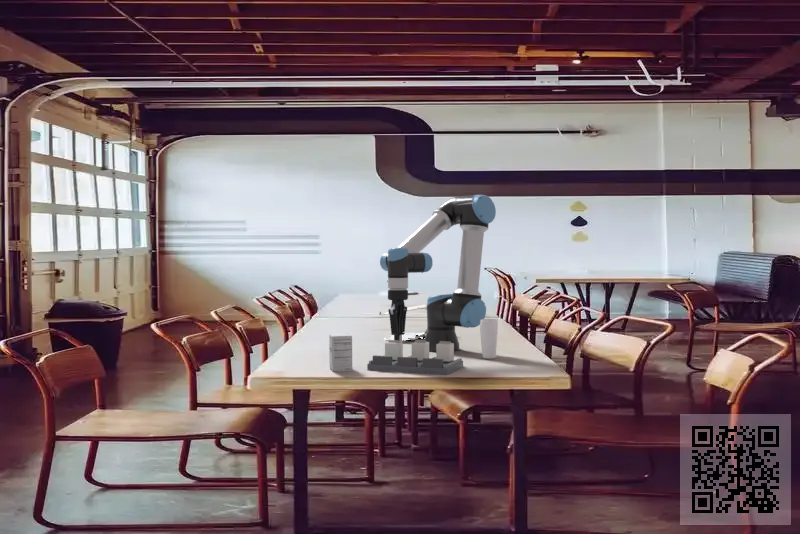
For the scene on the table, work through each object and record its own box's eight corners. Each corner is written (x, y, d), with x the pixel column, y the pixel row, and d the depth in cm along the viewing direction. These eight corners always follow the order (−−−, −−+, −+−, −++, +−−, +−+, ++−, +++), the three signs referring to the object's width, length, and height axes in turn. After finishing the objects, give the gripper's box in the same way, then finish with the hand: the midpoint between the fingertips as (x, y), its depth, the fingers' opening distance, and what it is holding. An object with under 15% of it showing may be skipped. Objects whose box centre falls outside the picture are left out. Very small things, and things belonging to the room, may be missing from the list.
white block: (390, 357, 279) (390, 339, 279) (402, 357, 277) (402, 339, 277) (385, 359, 274) (384, 340, 274) (397, 360, 272) (397, 341, 272)
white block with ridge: (416, 357, 278) (416, 339, 277) (429, 358, 276) (429, 339, 276) (411, 359, 273) (411, 341, 273) (424, 360, 271) (424, 341, 271)
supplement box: (329, 368, 271) (328, 333, 270) (349, 367, 272) (349, 332, 272) (332, 372, 263) (331, 336, 263) (352, 371, 265) (352, 335, 265)
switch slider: (440, 358, 274) (440, 340, 274) (453, 359, 272) (453, 340, 272) (436, 361, 270) (436, 342, 269) (449, 361, 268) (449, 342, 267)
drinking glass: (490, 360, 286) (490, 320, 285) (476, 358, 291) (476, 319, 290) (501, 358, 291) (501, 319, 290) (487, 356, 295) (487, 318, 295)
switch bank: (387, 361, 284) (386, 348, 284) (463, 366, 273) (463, 352, 272) (367, 369, 267) (367, 355, 267) (447, 374, 256) (447, 360, 256)
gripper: (395, 288, 287) (395, 349, 287) (381, 290, 275) (381, 354, 275) (413, 288, 284) (413, 350, 285) (400, 290, 272) (400, 355, 273)
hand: (398, 352), depth 280 cm, fingers closed
